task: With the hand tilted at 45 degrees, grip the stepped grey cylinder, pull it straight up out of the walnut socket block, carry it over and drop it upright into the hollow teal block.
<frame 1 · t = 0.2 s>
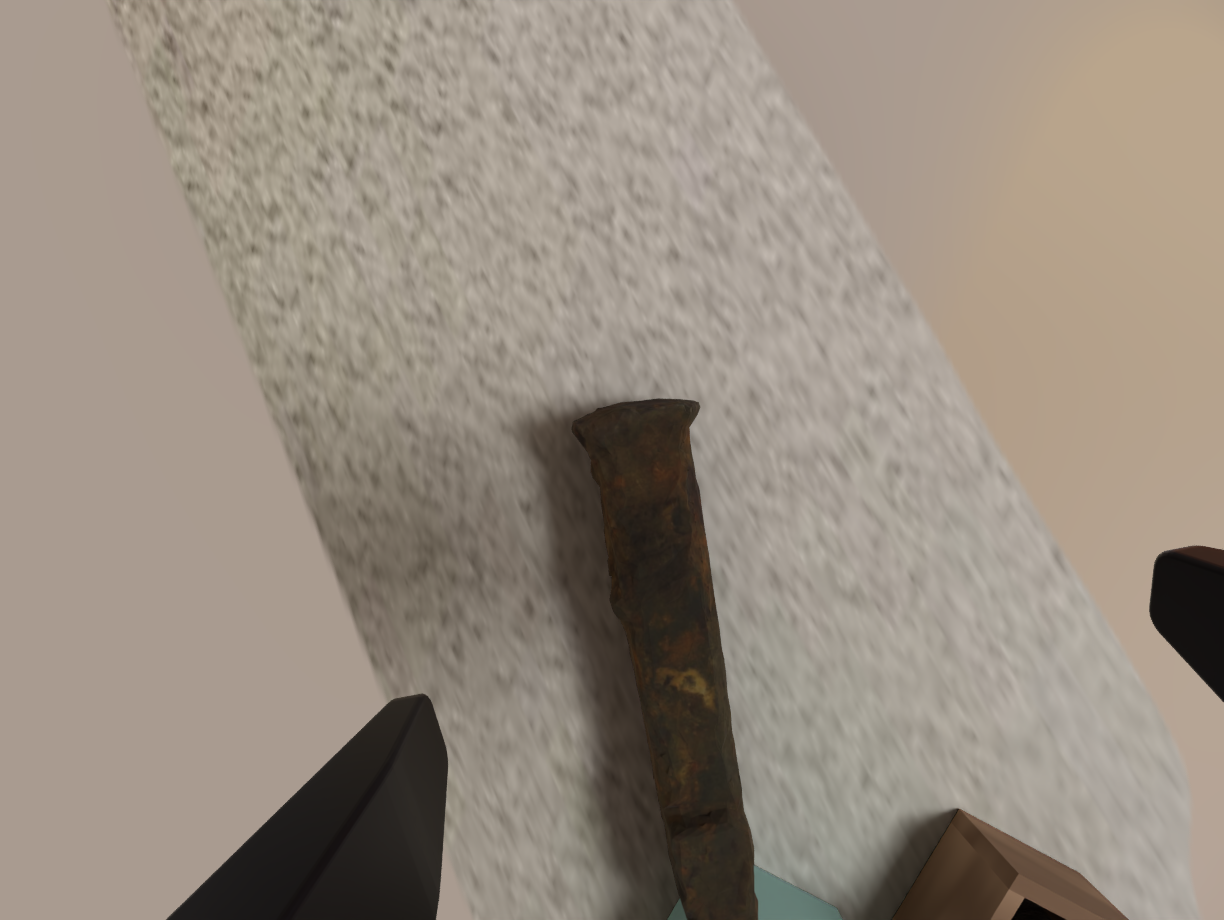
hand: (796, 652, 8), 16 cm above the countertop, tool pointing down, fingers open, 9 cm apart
stepped grey cylinder: (982, 901, 25), resting in socket block
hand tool: (686, 658, 24), on the countertop, touching hollow teal block
socket block: (982, 901, 25), on the countertop
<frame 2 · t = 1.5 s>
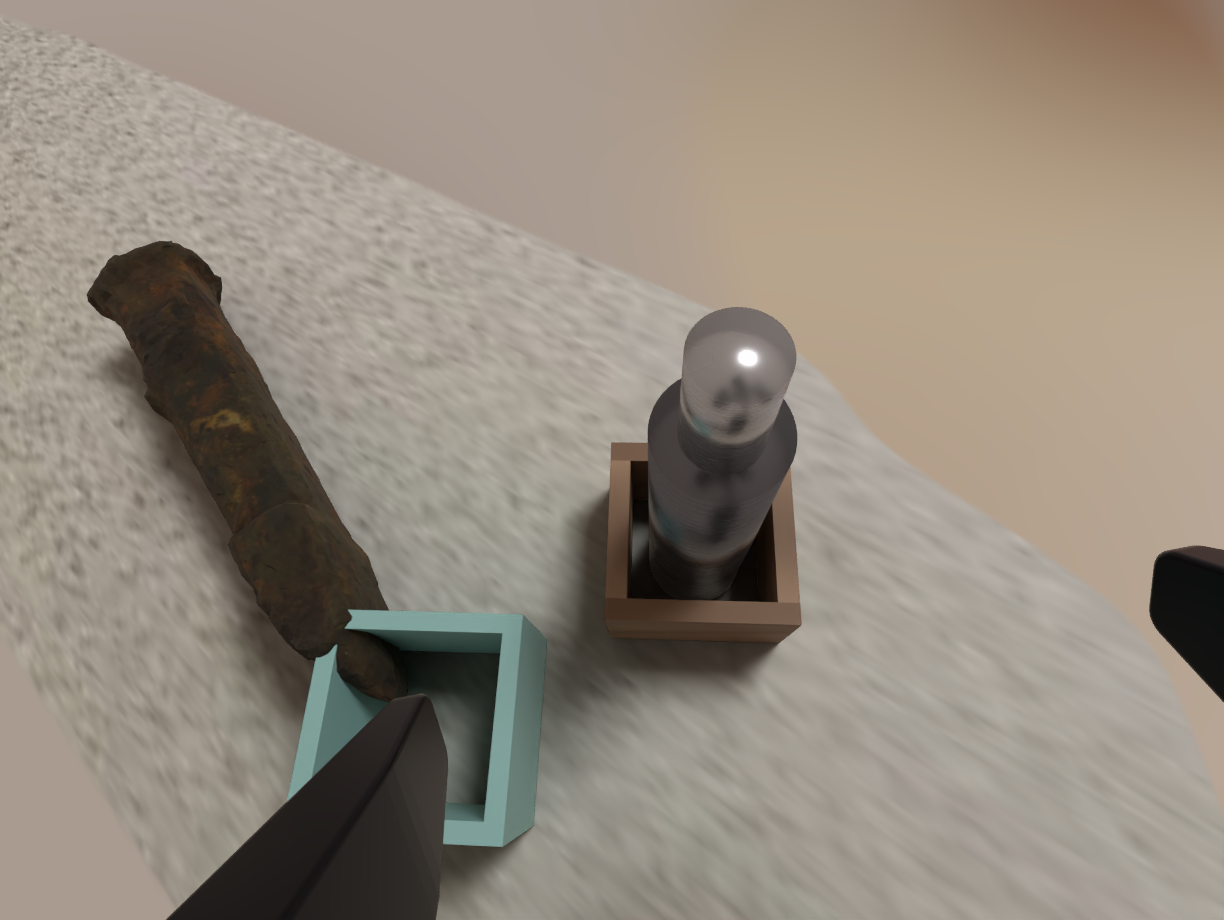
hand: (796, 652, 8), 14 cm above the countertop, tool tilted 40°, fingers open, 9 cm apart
stepped grey cylinder: (693, 558, 23), resting in socket block
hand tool: (298, 474, 25), on the countertop, touching hollow teal block
hollow teal block: (455, 724, 21), on the countertop
socket block: (693, 558, 23), on the countertop
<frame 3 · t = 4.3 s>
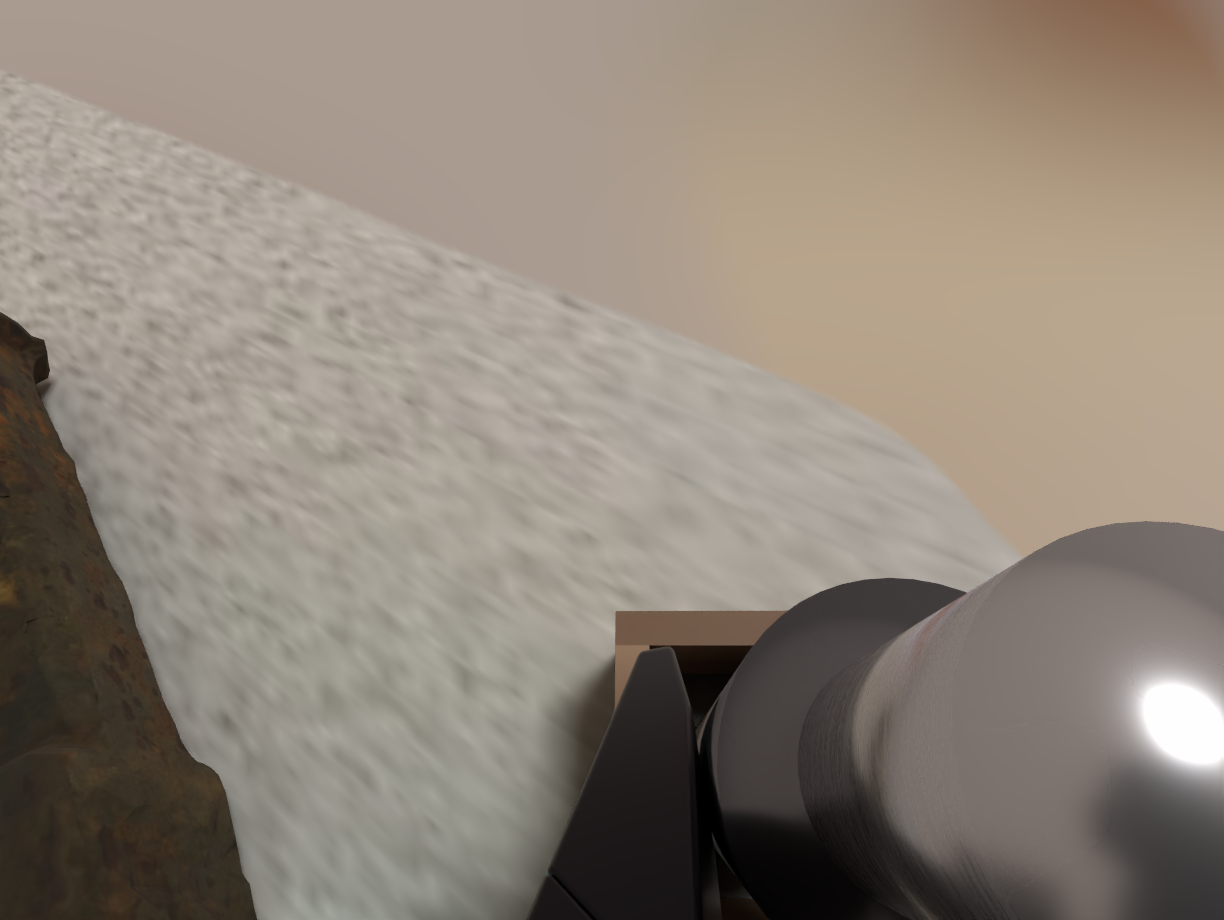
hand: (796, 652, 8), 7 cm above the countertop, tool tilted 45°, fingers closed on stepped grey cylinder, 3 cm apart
stepped grey cylinder: (754, 778, 14), resting in socket block, touching gripper
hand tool: (135, 639, 16), on the countertop, touching hollow teal block
socket block: (754, 779, 14), on the countertop
when the fingers open (8 cm above the countertop, at t = 8.3 s): stepped grey cylinder stays where it is, resting in hollow teal block.
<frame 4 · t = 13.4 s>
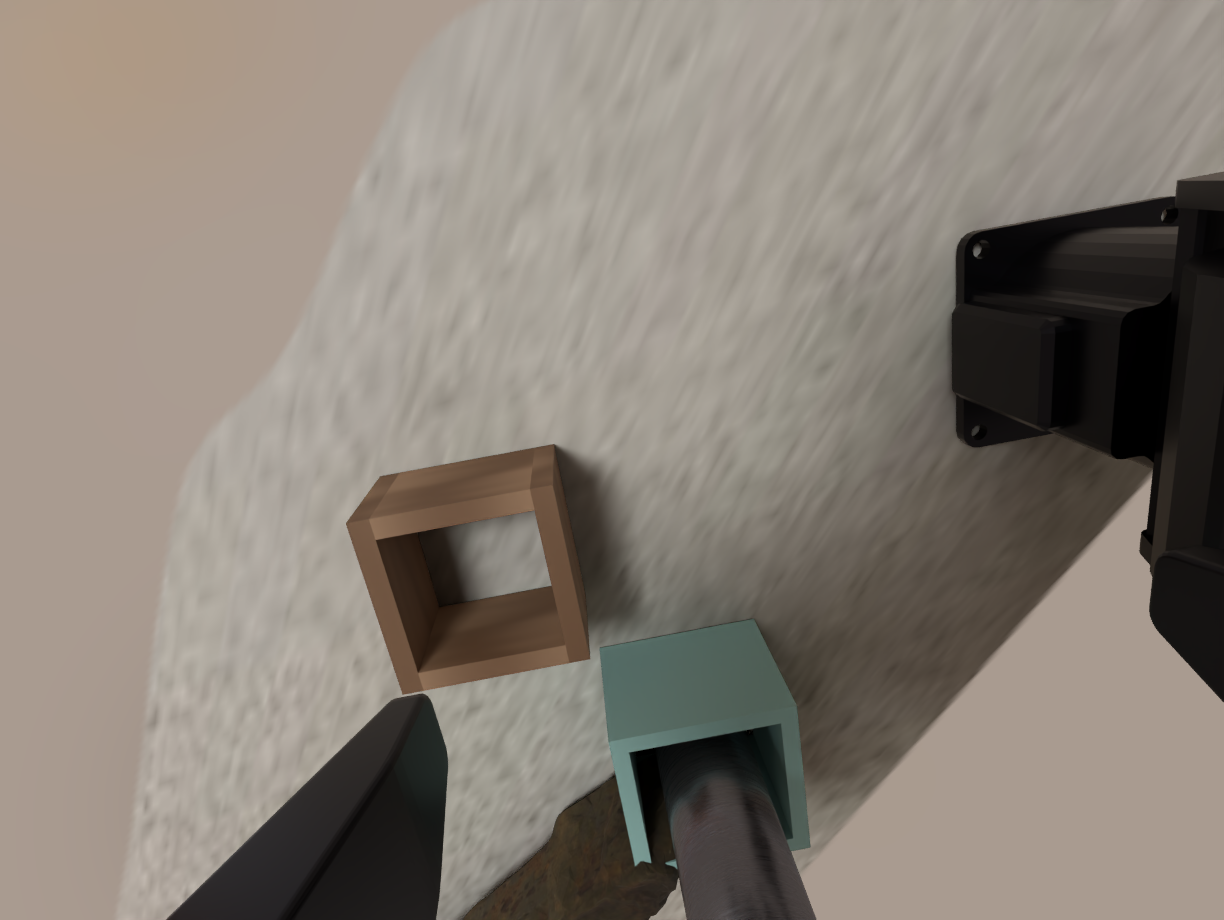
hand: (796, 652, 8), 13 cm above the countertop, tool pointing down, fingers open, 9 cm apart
stepped grey cylinder: (687, 695, 24), resting in hollow teal block
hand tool: (500, 881, 26), on the countertop, touching hollow teal block
hollow teal block: (687, 697, 24), on the countertop
socket block: (487, 538, 22), on the countertop
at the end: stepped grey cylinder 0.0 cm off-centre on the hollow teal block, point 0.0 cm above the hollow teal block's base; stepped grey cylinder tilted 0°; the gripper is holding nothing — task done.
